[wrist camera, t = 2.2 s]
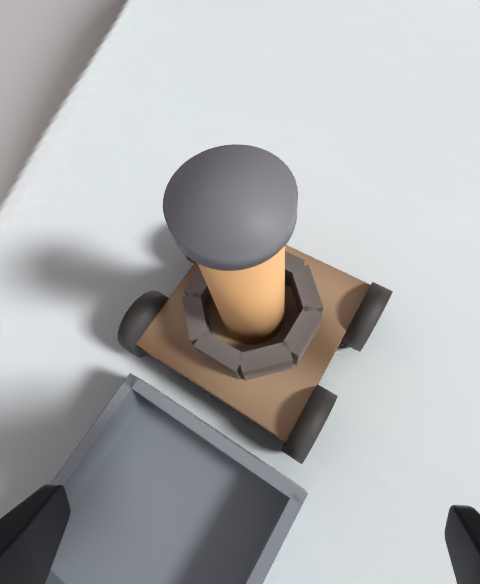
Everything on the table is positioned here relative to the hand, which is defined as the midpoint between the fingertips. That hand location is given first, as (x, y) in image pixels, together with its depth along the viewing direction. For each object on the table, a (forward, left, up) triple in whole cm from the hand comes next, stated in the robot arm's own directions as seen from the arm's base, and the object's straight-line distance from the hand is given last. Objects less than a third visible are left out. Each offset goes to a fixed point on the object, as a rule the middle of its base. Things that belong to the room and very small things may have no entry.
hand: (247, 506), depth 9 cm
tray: (-5, +4, -14) cm, 15 cm away
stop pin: (+7, +5, -11) cm, 14 cm away
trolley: (+7, +5, -14) cm, 16 cm away
